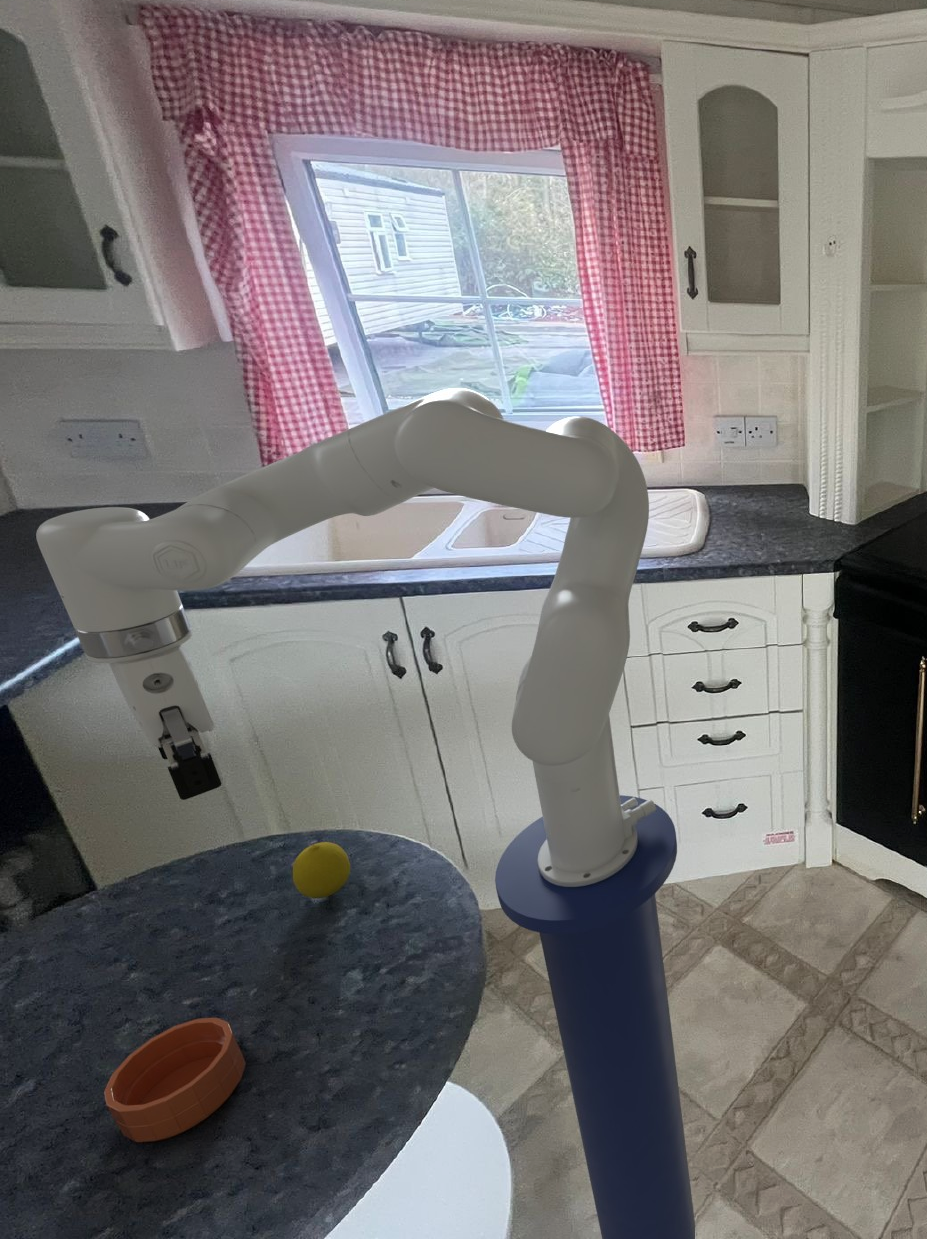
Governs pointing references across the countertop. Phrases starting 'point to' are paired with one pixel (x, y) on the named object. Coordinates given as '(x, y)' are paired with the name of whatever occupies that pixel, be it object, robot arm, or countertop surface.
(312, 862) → the lemon
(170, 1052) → the bowl
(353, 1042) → the countertop surface
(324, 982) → the countertop surface
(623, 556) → the robot arm
